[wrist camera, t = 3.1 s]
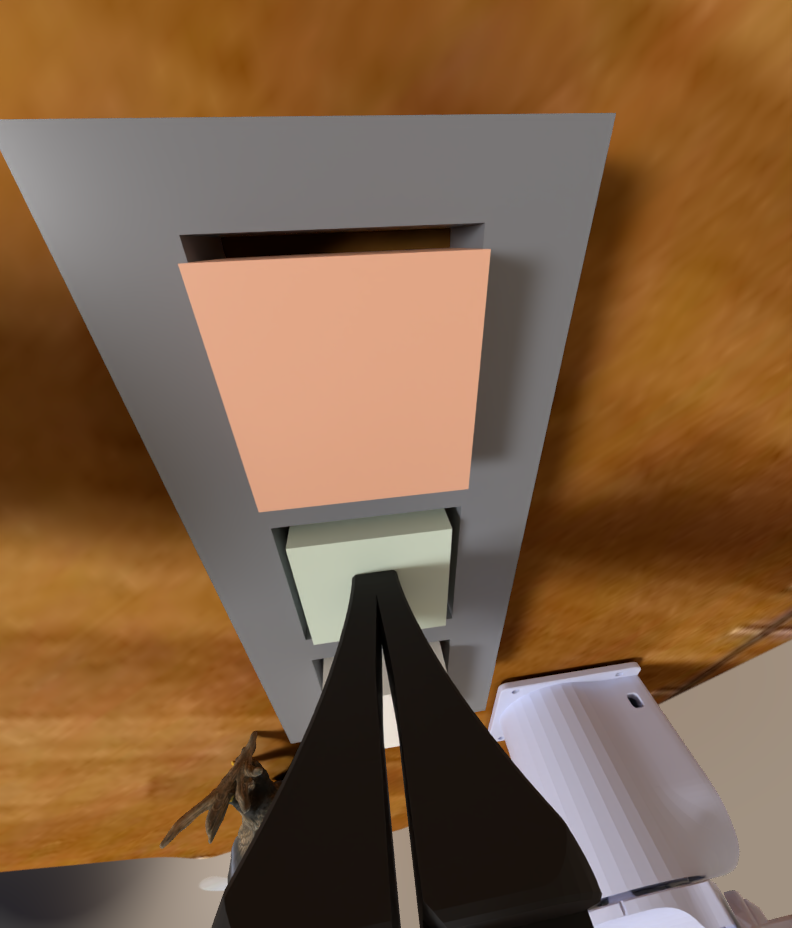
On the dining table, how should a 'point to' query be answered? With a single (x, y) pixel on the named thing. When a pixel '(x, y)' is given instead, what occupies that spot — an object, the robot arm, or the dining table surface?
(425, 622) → the sage key
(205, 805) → the eagle figurine
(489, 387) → the key frame
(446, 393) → the terracotta key
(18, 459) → the dining table surface
